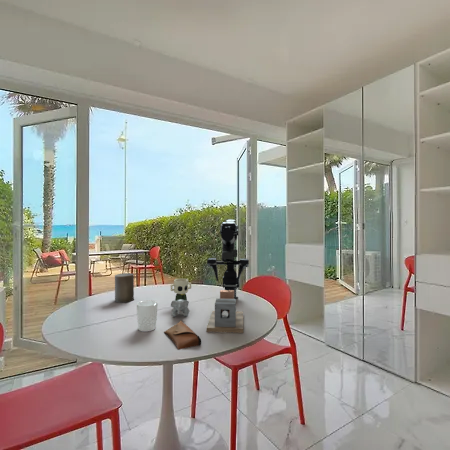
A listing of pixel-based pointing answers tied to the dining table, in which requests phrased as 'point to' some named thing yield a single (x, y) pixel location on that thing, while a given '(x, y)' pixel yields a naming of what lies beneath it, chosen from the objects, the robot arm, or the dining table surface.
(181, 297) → the character mug
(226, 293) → the shaft
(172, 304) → the elephant statuette
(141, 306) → the white cup
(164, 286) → the dining table surface
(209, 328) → the bearing base
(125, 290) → the pillar candle
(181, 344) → the sunglasses case
